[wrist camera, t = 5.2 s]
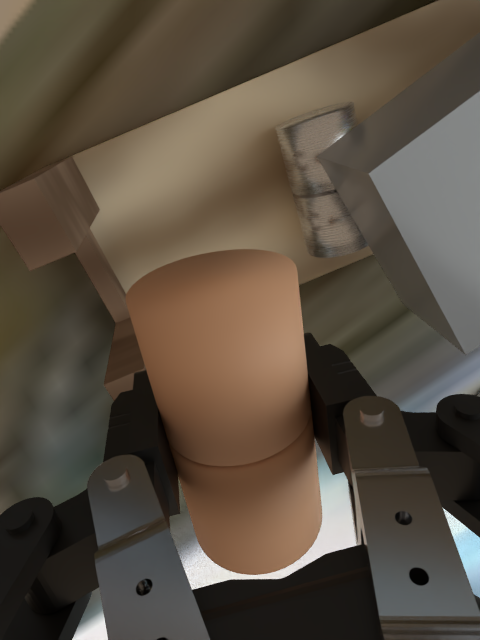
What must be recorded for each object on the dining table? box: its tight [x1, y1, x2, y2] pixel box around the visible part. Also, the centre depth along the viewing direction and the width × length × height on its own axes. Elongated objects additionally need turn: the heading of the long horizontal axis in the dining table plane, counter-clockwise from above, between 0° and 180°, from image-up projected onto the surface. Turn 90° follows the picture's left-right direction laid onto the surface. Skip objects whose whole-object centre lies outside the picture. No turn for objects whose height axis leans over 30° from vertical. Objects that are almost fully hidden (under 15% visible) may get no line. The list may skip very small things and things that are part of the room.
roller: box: [126, 249, 322, 575], centre depth 12 cm, size 8×4×4 cm, turn 9°
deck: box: [0, 0, 480, 401], centre depth 23 cm, size 12×28×9 cm, turn 111°
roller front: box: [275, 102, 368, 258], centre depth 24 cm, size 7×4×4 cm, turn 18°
